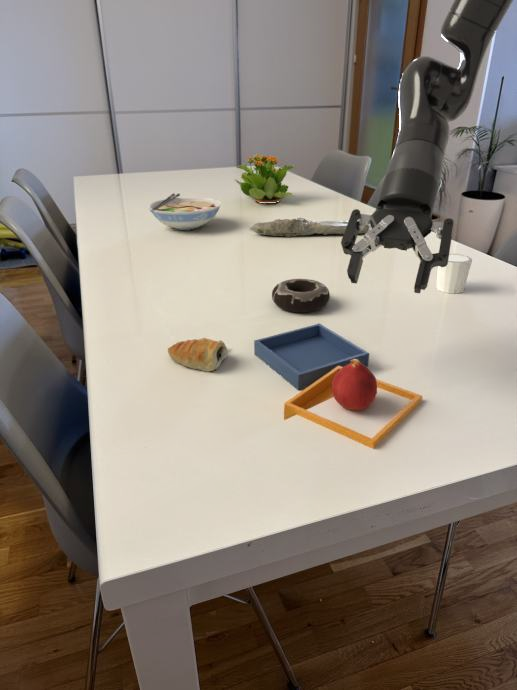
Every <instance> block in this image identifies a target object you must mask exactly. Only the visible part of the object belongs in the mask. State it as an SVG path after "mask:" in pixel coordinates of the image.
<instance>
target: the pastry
mask: <svg viewBox="0 0 517 690" xmlns="http://www.w3.org/2000/svg"><path fill="white" fill-rule="evenodd" d="M167 353H168V355H169V357H170V360H172V361H173V362H174V363H177V364H178V365H182V366H183V367H186V368H188V369H192V370H196V369H197V370H200V371H201V370H202V371H201V372H214V370H215V369H216V370H217V369H219V367H220V366H221V364H222V361H224V360H225V359H226V358H227V356H228V349H227V346H226V344H225V342H224V341H223V340H222V339H221V340H214V339H212V338H211V339H209V338H206V337H202V338H199V339H197V338H196V339H186V340H182V341H178V342H176V343H175V344H173V345H171V346H169V347H168V348H167ZM216 370H215V371H216Z"/></svg>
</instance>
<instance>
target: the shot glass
mask: <svg viewBox="0 0 517 690" xmlns="http://www.w3.org/2000/svg"><path fill="white" fill-rule="evenodd" d="M472 263H473V259H472V257H471V256H468V255H465V254H461V253H452V252H451V253H450V252H449V258H448V264H447V266H445V267H440V266H437V269H436V270H437V271H436V289H437V290H438V291H439V292H442V293H446V294H460V293H463V292H464V290H465V287H466V284H467V280H468V276H469V273H470V269H471V266H472Z"/></svg>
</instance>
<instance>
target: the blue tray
mask: <svg viewBox="0 0 517 690" xmlns="http://www.w3.org/2000/svg"><path fill="white" fill-rule="evenodd" d="M253 342H254V343H253V347H254V349H253V350H254V352H253V353H254V356H256V357H257V356H258V357H259V358H258V357H257V358H258V359H259V360H261V361H262V360H263V361H264V362H265V363H264V362H263V361H262V362H263V363H264V364H265V365H266V366H268V365H269V366H270V367H271V368H270V367H269V366H268V367H269V368H270V369H271V370H273V371H274V370H275V371H276V372H275V371H274V372H275V373H276V374H277V375H279V376H280V375H281V376H282V377H281V376H280V377H281V378H282V379H284V380H285V381H286V382H287V383H288V384H289V385H291V386H292V387H293V388H295V389H296V390H297V391H302V390H304V389H306V388H307V387H309V386H310V385H311V384H313V383H314V382H316V381H317V380H319V379H320V378H321V377H323V376H324V375H326V374H327V373H329V372H330V371H331V370H333V369H334V368H336V367H337V366H341V367H344V366H346V365H348V364H351V362H350V360H353V359H358V360H359V361H360V362H361V363H362V364H363V365H365V366H366V367H367V368H369V361H370V360H369V359H370V353H369V352H368V351H366V350H364V349H363V348H361V347H359V346H358V345H357V344H354V343H353V342H351V341H349V340H348V339H346V338H345V337H343V336H341V335H340V334H339V333H336V332H335V331H333V330H331V329H330V328H328V327H326V326H325V325H323V324H321V323H315V324H312V325H308V326H305V327H304V326H303V327H301V328H300V327H299V328H297V329H293V330H289V331H285V332H281V333H278V334H274V335H270V336H267V337H262V338H258V339H254V340H253Z"/></svg>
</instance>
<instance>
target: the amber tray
mask: <svg viewBox="0 0 517 690" xmlns="http://www.w3.org/2000/svg"><path fill="white" fill-rule="evenodd" d="M341 368H342V367H341V366H337V367H336V368H334V369H333V370H331V371H330V372H329V373H327V374H326V375H324V376H323V377H321V378H320V379H319V380H317V381H316V382H314V383H313V384H311V385H310V386H309V387H307V388H304V389H302V390H300V392H298V393H297V394H295V395H294V396H293V397H292V398H290V399H288V400H287V401H285V402H284V403H283V404H284V405H283V420H284V421H286V420H289V419H290V418H292V417H295V416H299V417H301V418H303V419H306V420H308V421H310V422H312V423H314V424H317V425H318V426H321V427H324V428H326V429H328V430H330V431H332V432H334V433H337V434H339V435H341V436H344V437H346V438H347V439H348V438H349V439H350V440H352V441H354V442H357V443H359V444H361V445H364V446H366V447H368V448H370V449H375V447H376V446H377V445H378V444H379V443H381V442H382V440H384V439H385V438H386V437H387V436H388V434H390V433H391V432H392V431H393V430H394V429H395V428H396V427H397V426H398V425H399V424H401V422H402V421H403V420H404V419H405V418H406V417H407V416H408V415H409V414H410V413H411V412H412V411H413V410H414V409H415V408H417V406H418V405H419V404H420V403H422V401H423V395H421V394H419V393H416V392H414V391H411V390H408V389H405V388H402V387H399V386H398V385H397V386H396V385H393V384H392V383H388V382H385V381H383V380H380V379H378V378H376V381H377V389H381V390H384V391H385V392H386V391H387V392H389V393H391V394H395V395H397V396H400V397H403V398H405V399H408V400H410V401H409V402H408V403H407V404H406V405H405V406H404V407H403V408H402V409H401V410H400V411H399V412H398V413H397V414H396V415H394V417H392V419H391V420H390V421H388V422H387V424H385V425H384V427H382V428H381V429H380V430H379V431H378V432H377V433H376V434H375V435H374V436H373V437H372V438H371V437H369V436H366V435H365V434H362V433H360V432H357V431H355V430H353V429H350V428H348V427H346V426H344V425H341V424H339V423H337V422H335V421H332V420H330V419H328V418H325V417H323V416H321V415H318V414H316V413H314V412H312V411H310V410H309V409H311V408H313V407H316V406H317V405H320V404H321V403H324V402H326V401H328V400H330V399H332V398H334V396H333V394H332V382H333V378H334V376H335V375H336V374H337V372H338V371H339V370H340V369H341Z"/></svg>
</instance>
